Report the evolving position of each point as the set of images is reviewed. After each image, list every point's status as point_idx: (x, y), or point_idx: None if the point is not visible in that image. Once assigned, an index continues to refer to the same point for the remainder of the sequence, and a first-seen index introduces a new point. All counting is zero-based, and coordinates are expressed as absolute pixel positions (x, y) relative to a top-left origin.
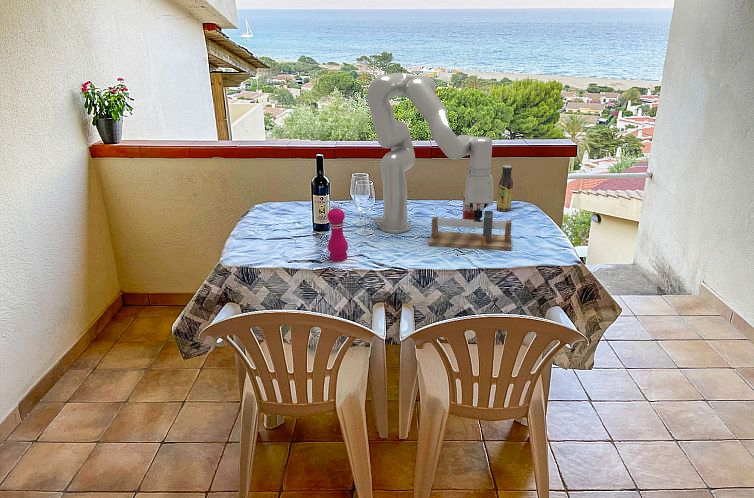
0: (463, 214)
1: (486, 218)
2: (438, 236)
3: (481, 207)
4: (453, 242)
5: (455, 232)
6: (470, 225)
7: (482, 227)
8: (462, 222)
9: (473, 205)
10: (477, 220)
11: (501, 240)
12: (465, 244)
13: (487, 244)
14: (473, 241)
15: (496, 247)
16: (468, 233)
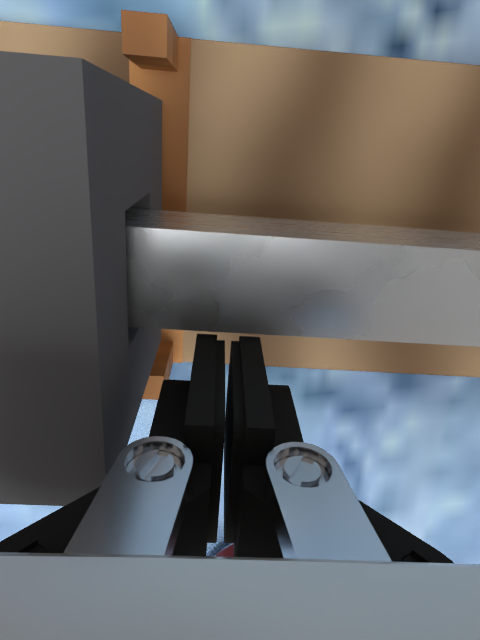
0: None
1: (21, 53)
2: None
3: (152, 492)
4: (473, 101)
5: (410, 370)
6: (331, 228)
7: (160, 210)
8: (463, 246)
9: (365, 536)
10: (234, 304)
11: None
12: (352, 55)
13: (116, 70)
14: (263, 152)
15: (19, 26)
16: (300, 357)
